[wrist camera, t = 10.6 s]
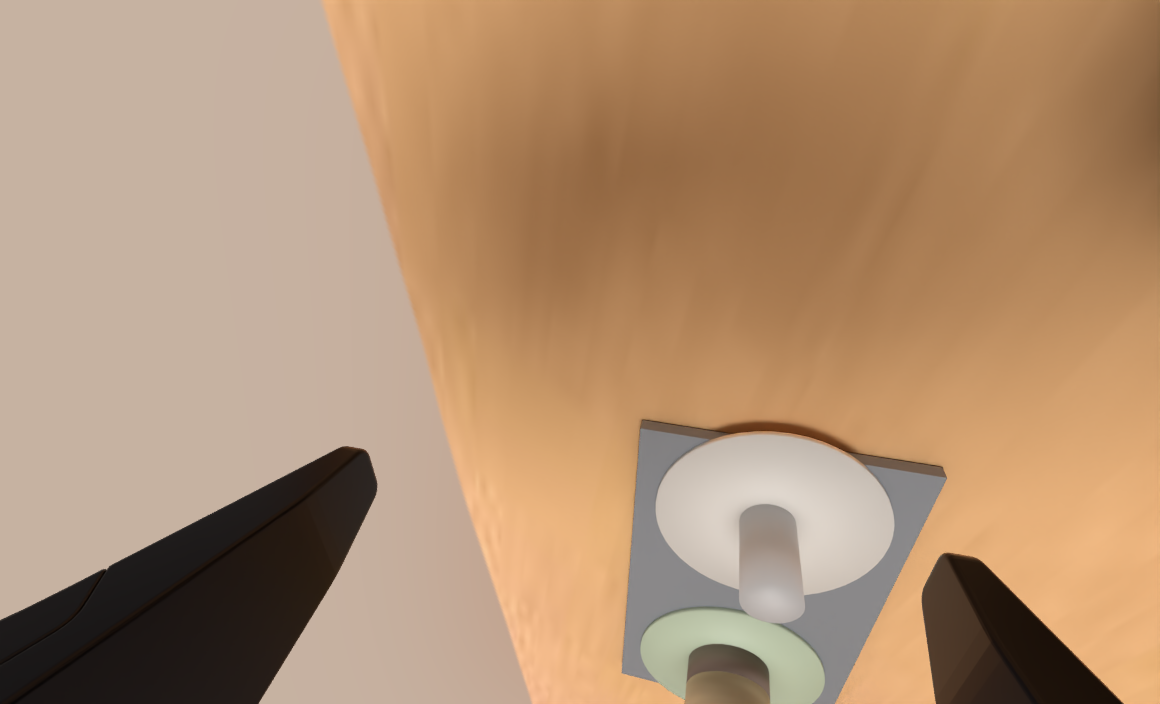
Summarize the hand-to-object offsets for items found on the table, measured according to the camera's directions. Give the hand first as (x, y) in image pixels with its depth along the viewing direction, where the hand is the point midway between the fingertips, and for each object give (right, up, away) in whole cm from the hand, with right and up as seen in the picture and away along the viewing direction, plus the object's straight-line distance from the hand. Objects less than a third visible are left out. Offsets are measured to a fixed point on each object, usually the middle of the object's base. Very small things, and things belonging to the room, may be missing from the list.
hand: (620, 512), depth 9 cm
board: (+8, -10, +19) cm, 23 cm away
